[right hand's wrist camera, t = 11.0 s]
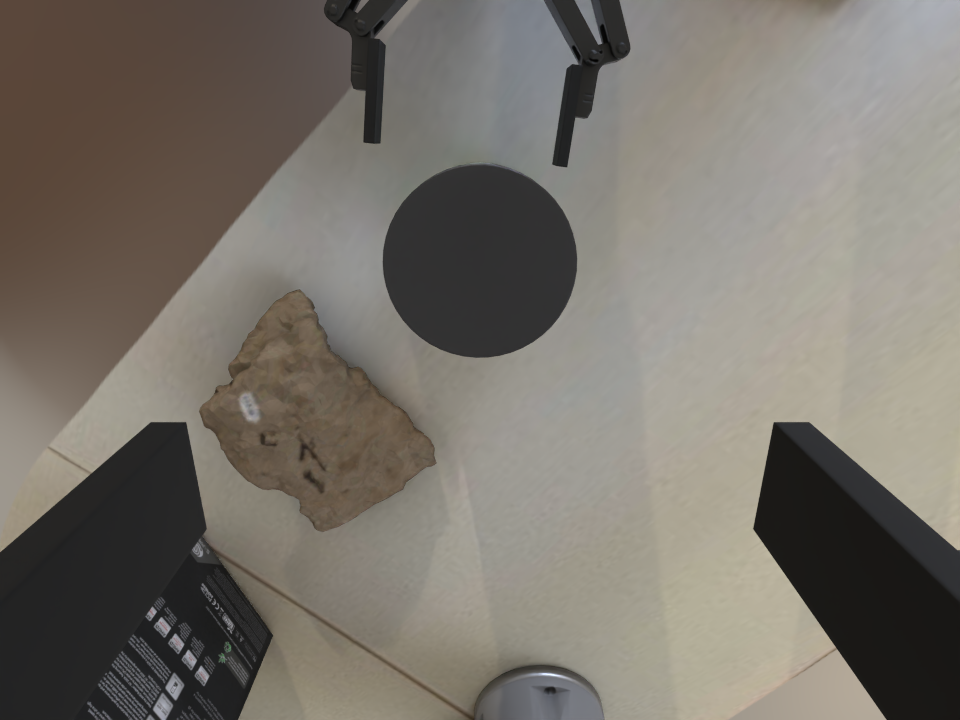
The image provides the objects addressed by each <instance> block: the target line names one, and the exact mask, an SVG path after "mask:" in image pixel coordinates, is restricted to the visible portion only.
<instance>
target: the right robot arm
mask: <svg viewBox="0 0 960 720" xmlns="http://www.w3.org/2000/svg"><path fill="white" fill-rule="evenodd" d="M206 529H207V528H206V523H205V518H204V512H203V507H202V502H201V497H200V492H199V486H198V481H197V476H196V471H195V466H194V460H193V455H192V450H191V445H190V440H189V435H188V429H187V424H186V422H151V423H149V424H148V425H147V426H146V427H145V428H144V429H143V430H141V431H140V432H139V433H138V434H137V435H136V436H134V437H133V438H132V439H131V440H130V441H129V442H127V443H126V444H125V445H124V446H123V447H122V448H121V449H119V450H118V451H117V452H116V453H115V454H114V455H112V456H111V457H110V458H109V459H108V460H107V461H105V462H104V463H103V464H102V465H101V466H100V467H99V468H97V469H96V470H95V471H94V472H93V473H92V474H90V475H89V476H88V477H87V478H86V479H85V480H84V481H82V482H81V483H80V484H79V485H78V486H77V487H75V488H74V489H73V490H72V491H71V492H70V493H68V494H67V495H66V496H65V497H64V498H63V499H62V500H60V501H59V502H58V503H57V504H56V505H55V506H53V507H52V508H51V509H50V510H49V511H48V512H46V513H45V514H44V515H43V516H42V517H41V518H40V519H38V520H37V521H36V522H35V523H34V524H33V525H31V526H30V527H29V528H28V529H27V530H26V531H24V532H23V533H22V534H21V535H20V536H19V537H18V538H16V539H15V540H14V541H13V542H12V543H11V544H9V545H8V546H7V547H6V548H5V549H4V550H2V551H1V552H0V720H73V719H74V718H75V717H76V715H77V714H78V712H79V711H80V709H81V708H82V707H83V705H84V704H85V702H86V701H87V699H88V698H89V697H90V695H91V694H92V692H93V691H94V689H95V688H96V687H97V685H98V684H99V682H100V681H101V679H102V678H103V677H104V675H105V674H106V672H107V671H108V669H109V668H110V667H111V665H112V664H113V662H114V661H115V659H116V658H117V657H118V655H119V654H120V652H121V651H122V649H123V648H124V647H125V645H126V644H127V642H128V641H129V639H130V638H131V637H132V635H133V634H134V632H135V631H136V629H137V628H138V626H139V625H140V624H141V622H142V621H143V619H144V618H145V616H146V615H147V614H148V612H149V611H150V609H151V608H152V606H153V605H154V604H155V602H156V601H157V599H158V598H159V596H160V595H161V594H162V592H163V591H164V589H165V588H166V586H167V585H168V584H169V582H170V581H171V579H172V578H173V576H174V575H175V574H176V572H177V571H178V569H179V568H180V566H181V565H182V564H183V562H184V561H185V559H186V558H187V556H188V555H189V554H190V552H191V551H192V549H193V548H194V546H195V545H196V544H197V542H198V541H199V539H200V538H201V536H202V535H203V533H204V532H205V531H206ZM753 529H754V531H755V532H756V533H757V535H758V536H759V538H760V539H761V541H762V542H763V544H764V545H765V546H766V548H767V549H768V551H769V552H770V554H771V555H772V556H773V558H774V559H775V561H776V562H777V564H778V565H779V566H780V568H781V569H782V571H783V572H784V574H785V575H786V576H787V578H788V579H789V581H790V582H791V584H792V585H793V586H794V588H795V589H796V591H797V592H798V594H799V595H800V596H801V598H802V599H803V601H804V602H805V604H806V605H807V606H808V608H809V609H810V611H811V612H812V614H813V615H814V616H815V618H816V619H817V621H818V622H819V624H820V625H821V626H822V628H823V629H824V631H825V632H826V634H827V635H828V637H829V638H830V639H831V641H832V642H833V644H834V645H835V647H836V648H837V649H838V651H839V652H840V654H841V655H842V657H843V658H844V659H845V661H846V662H847V664H848V665H849V667H850V668H851V669H852V671H853V672H854V674H855V675H856V677H857V678H858V679H859V681H860V682H861V684H862V685H863V687H864V688H865V689H866V691H867V692H868V694H869V695H870V697H871V698H872V699H873V701H874V702H875V704H876V705H877V707H878V708H879V709H880V711H881V712H882V714H883V715H884V717H885V718H886V719H887V720H960V550H956V549H955V548H954V547H953V546H952V545H951V544H949V543H948V542H947V541H946V540H945V539H944V538H942V537H941V536H940V535H939V534H938V533H937V532H936V531H934V530H933V529H932V528H931V527H930V526H929V525H927V524H926V523H925V522H924V521H923V520H922V519H920V518H919V517H918V516H917V515H916V514H915V513H914V512H912V511H911V510H910V509H909V508H908V507H907V506H905V505H904V504H903V503H902V502H901V501H900V500H898V499H897V498H896V497H895V496H894V495H893V494H892V493H890V492H889V491H888V490H887V489H886V488H885V487H883V486H882V485H881V484H880V483H879V482H878V481H876V480H875V479H874V478H873V477H872V476H871V475H870V474H868V473H867V472H866V471H865V470H864V469H863V468H861V467H860V466H859V465H858V464H857V463H856V462H855V461H853V460H852V459H851V458H850V457H849V456H848V455H846V454H845V453H844V452H843V451H842V450H841V449H839V448H838V447H837V446H836V445H835V444H834V443H833V442H831V441H830V440H829V439H828V438H827V437H826V436H824V435H823V434H822V433H821V432H820V431H819V430H817V429H816V428H815V427H814V426H813V425H812V424H811V423H809V422H774V424H773V429H772V435H771V440H770V445H769V450H768V455H767V460H766V466H765V471H764V476H763V481H762V486H761V492H760V497H759V502H758V507H757V512H756V518H755V523H754V528H753ZM474 720H604V714H603V709H602V705H601V701H600V698H599V695H598V693H597V692H596V690H595V689H594V688H593V686H592V685H591V684H590V683H589V682H588V681H586V680H585V679H584V678H582V677H581V676H579V675H578V674H576V673H574V672H571V671H569V670H566V669H562V668H558V667H553V666H528V667H522V668H518V669H515V670H512V671H509V672H507V673H504V674H503V675H501V676H499V677H497V678H496V679H494V680H493V681H492V682H490V683H489V684H488V685H487V686H486V687H485V688H484V690H483V691H482V692H481V694H480V695H479V697H478V699H477V702H476V705H475V712H474Z"/></svg>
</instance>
